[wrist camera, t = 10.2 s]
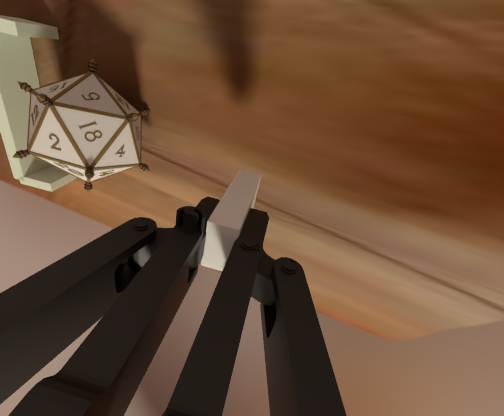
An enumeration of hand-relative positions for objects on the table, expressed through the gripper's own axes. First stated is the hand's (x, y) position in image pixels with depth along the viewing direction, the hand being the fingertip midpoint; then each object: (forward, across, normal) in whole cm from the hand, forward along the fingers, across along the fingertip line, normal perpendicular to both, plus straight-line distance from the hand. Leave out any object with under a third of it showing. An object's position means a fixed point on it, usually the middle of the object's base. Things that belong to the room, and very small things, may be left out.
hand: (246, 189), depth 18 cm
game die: (+6, -13, 0) cm, 14 cm away
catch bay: (+5, -19, 0) cm, 20 cm away
